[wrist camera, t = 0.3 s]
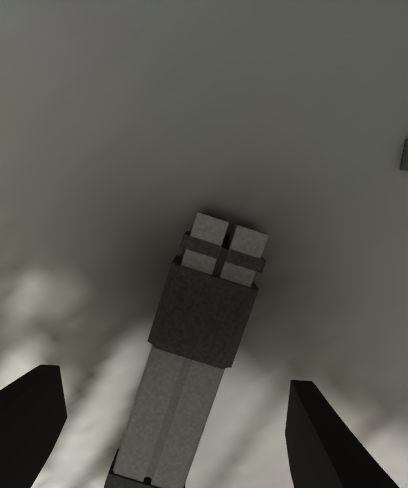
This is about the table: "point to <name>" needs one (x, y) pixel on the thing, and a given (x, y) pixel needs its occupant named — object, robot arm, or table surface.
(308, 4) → the table surface
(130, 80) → the table surface
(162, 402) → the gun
